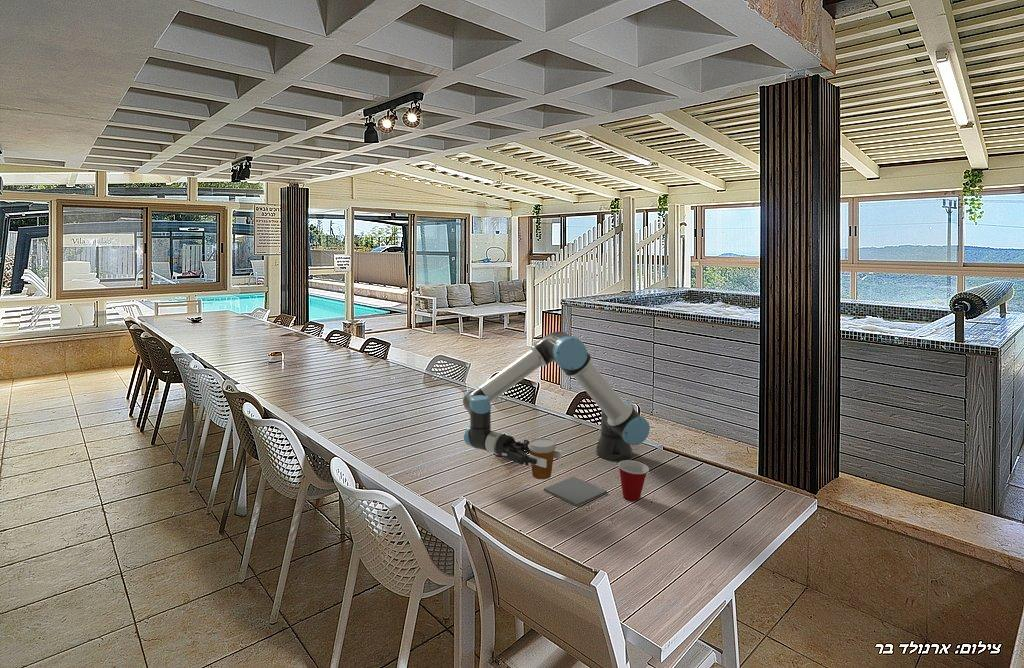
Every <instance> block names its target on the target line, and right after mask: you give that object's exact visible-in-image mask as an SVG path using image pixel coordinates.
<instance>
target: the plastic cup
mask: <svg viewBox="0 0 1024 668" xmlns="http://www.w3.org/2000/svg"><path fill="white" fill-rule="evenodd" d="M617 466H618V468H619V469H618V470H619V477H620V486H621V491H622V497H623V499H624V498H625V499H624V500H626V501H628V500H629V502H637V501H639V500H640V498H641V496H642V491H643V487H644V484H645V479H646V477H647V474H648V473H649V471H650V468H649V466H648V465H647V464H645V463H642V462H639V461H637V460H636V461H635V460H631V459H626V460H620V461H619V462H618V463H617Z"/></svg>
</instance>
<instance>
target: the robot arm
mask: <svg viewBox="0 0 1024 668" xmlns="http://www.w3.org/2000/svg"><path fill="white" fill-rule="evenodd" d="M591 360H592V356H591V354H590V353H589V352H588V349H587V347H586V345H585V344H584V342H583V341H582V340H580V339H579V338H578V337H576V336H573V335H570V334H568V333H566V332H564V331H553V332H551V333H548V334H547V335H545V336H544V337H542V338H540V339H539V340H537V341H536V342H535V343H533V345H531V346H530V350H528V351H527V352H526V353H524V354H523V355H522V356H520V357H519V358H517V359H516V360H515V361H513V362H511V363H510V364H509V365H507V367H505V368H504V369H502V370H501V371H499V372H498V373H497V374H495V375H494V376H492V377H491V378H490V379H488V380H487V381H486V382H484V383H482V384H481V385H480V386H478V387H477V388H476V389H474V390H472V389H471V390H468V391H466V392H465V393H464V394H463V396H462V404H463V406H464V409H465V410H466V412H467V413H468V414H469V419H470V420H469V426H467V428H466V429H465V431H464V432H465V433H464V434H463V441H464V443H465V444H466V445H468V446H469V447H472V448H474V449H477V450H478V449H479V450H482V451H486V452H487V453H488V452H489V453H492V454H493V455H498V456H501V457H502V458H503V459H508V460H510V461H512V462H514V463H517V464H519V465H525V466H529V464H534V465H537V466H541V467H544V468H546V467H547V459H543V458H540V457H537V456H533V455H530V454H529V455H528V453H530V450H529V448H528V444H529V442H530V440H528V439H523V442H521V441H517V440H515V438H514V437H513V436H512V435H508V434H504V433H501V432H498V431H494V430H491V429H492V427H491V426H492V425H491V423H492V422H491V420H492V419H491V418H492V416H491V415H492V414H491V412H492V411H491V410H492V405H491V403H492V402H493V401H495V400H496V399H498V398H499V397H500V396H502V395H503V394H504V393H506V392H507V391H509V390H510V389H512V388H513V387H514V386H515V385H517V384H518V383H519V382H521V381H522V380H524V379H525V378H526V377H529V375H531V374H533V372H535V371H537V369H539V368H540V367H542V366H544V367H545V366H548V365H549V364H552V363H553V362H554V363H556V364H557V366H558V367H559V368H560V369H561V370H562V371H563V373H564V374H565V375H566V376H568V377H573V378H574V379H575V381H576V382H578V384H579V385H580V386H581V388H582V389H583V390H584V391H585V392H586V393H587V395H588V396H589V397H590V398H591V399H592V400H593V402H594V403H595V404H596V405H597V406H598V408H600V410H601V421H600V423H601V424H600V425H601V426H600V437H599V439H598V442H597V445H596V448H595V449H596V450H595V453H596V456H598V457H600V458H601V459H605V460H610V461H625V460H630V459H631V458H632V457H633V448H632V446H637V445H641V444H642V443H644V441H646V440H647V438H648V436H649V434H650V430H651V427H650V424H649V421H648V420H647V419H646V418H645V417H644V416H642V415H640V413H639V412H638V411H637V410H636V409H635V408H634V407H633V405H632V404H631V402H630V401H628V400H623V399H622V398H621V397H620V396H619V394H618V393H617V392H616V391H615V389H613V386H611V385H610V383H609V382H608V381H607V380H606V379H605V377H604V376H603V375H602V374H601V373H600V371H599V370H598V369H597V368H596V366H595V365H594V364H593V363H592V361H591ZM562 455H563V454H562V451H561V450H558V449H555V451H554V458H553V459H557V460H562Z"/></svg>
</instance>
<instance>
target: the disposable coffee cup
mask: <svg viewBox="0 0 1024 668" xmlns="http://www.w3.org/2000/svg"><path fill="white" fill-rule="evenodd" d="M529 441H530V442H529V444H528V448H529V450H530V452H529V455H533V456H537V457H540V458H543V459H547V467H546V468H544V467H541V466H537V465H534V464H531V463H530V464H531V465H530V466H531V472H532V473H531V474H532V475H531V476H532V477H533V478H534V479H537V480H548V479H550V478H551V476H552V471H553V464H554V459H555V458H554V451H555V450H556V448H557V445H556V443H555V441H554V440H553V439H551V438H548V437H537V438H536V437H535V438H533V439H530V440H529Z"/></svg>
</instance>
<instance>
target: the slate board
mask: <svg viewBox="0 0 1024 668" xmlns="http://www.w3.org/2000/svg"><path fill="white" fill-rule="evenodd" d="M544 491H546V492H545V493H547V492H548V493H547V494H549V493H550V494H549V495H551V494H552V495H551V496H553V495H554V496H553V497H555V496H556V497H555V498H557V497H558V498H557V499H559V498H560V499H559V500H561V499H562V501H564V502H566V503H568V502H569V503H568V504H570V505H572V504H573V505H572V506H574V505H575V506H574V507H576V506H578V507H580V506H583V505H584V504H587V503H589V502H591V501H594V500H596V499H597V498H600V497H601V496H604V495H606V494H608V490H606V489H604V488H602V487H600V486H598V485H595V484H592V483H589V482H588V481H585V480H582V479H580V478H578V477H576V476H572V477H569V478H567V479H564V480H562V481H559V482H557V483H554V484H552V485H548V486H547V487H544V488H543V492H544ZM586 502H587V503H586Z"/></svg>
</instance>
